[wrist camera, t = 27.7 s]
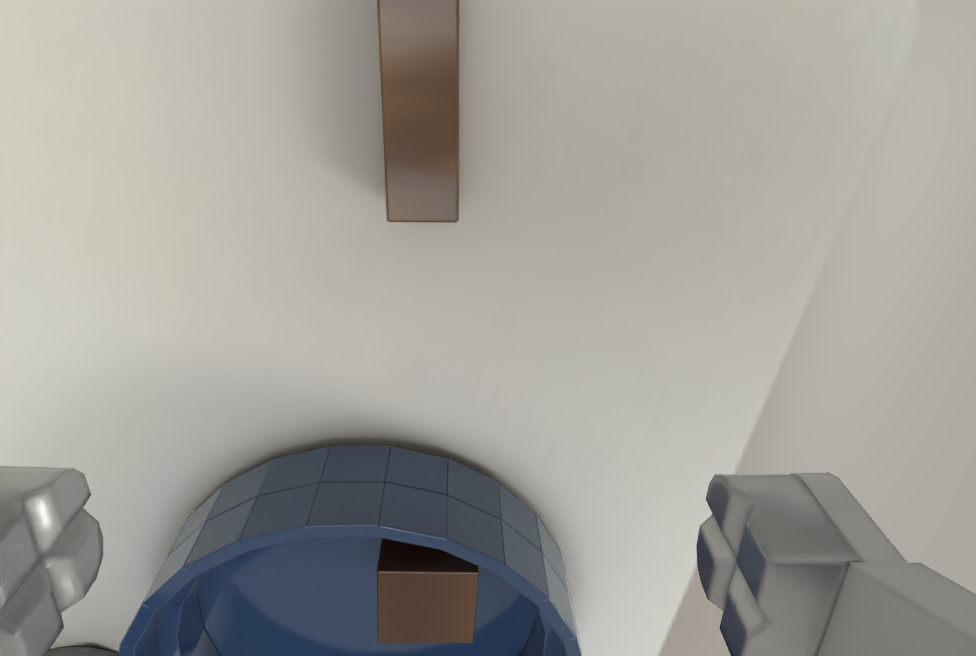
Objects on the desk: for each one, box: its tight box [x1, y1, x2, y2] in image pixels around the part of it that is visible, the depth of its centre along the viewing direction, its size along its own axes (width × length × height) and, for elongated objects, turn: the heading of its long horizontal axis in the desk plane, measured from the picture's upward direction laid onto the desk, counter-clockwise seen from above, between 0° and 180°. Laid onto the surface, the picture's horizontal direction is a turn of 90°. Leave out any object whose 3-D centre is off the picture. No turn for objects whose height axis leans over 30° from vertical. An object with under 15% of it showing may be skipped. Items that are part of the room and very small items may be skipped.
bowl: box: [119, 446, 583, 656], centre depth 30 cm, size 19×19×6 cm
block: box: [377, 538, 479, 643], centre depth 28 cm, size 4×4×4 cm
